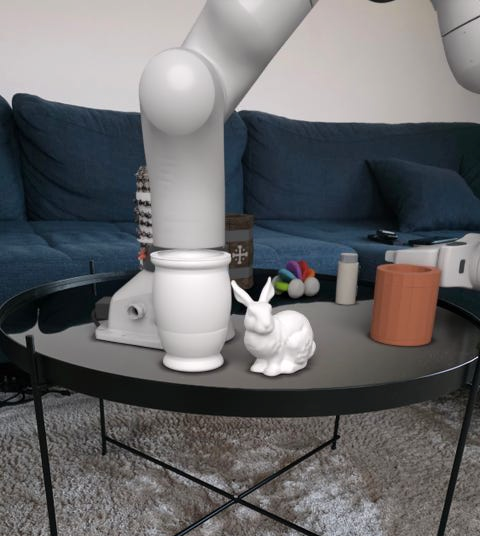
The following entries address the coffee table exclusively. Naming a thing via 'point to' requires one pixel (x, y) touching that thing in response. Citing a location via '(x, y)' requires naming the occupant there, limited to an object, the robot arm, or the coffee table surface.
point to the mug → (240, 248)
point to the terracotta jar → (404, 304)
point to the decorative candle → (143, 210)
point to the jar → (191, 306)
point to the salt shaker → (347, 279)
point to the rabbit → (275, 334)
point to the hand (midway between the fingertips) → (403, 252)
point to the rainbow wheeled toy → (296, 280)
